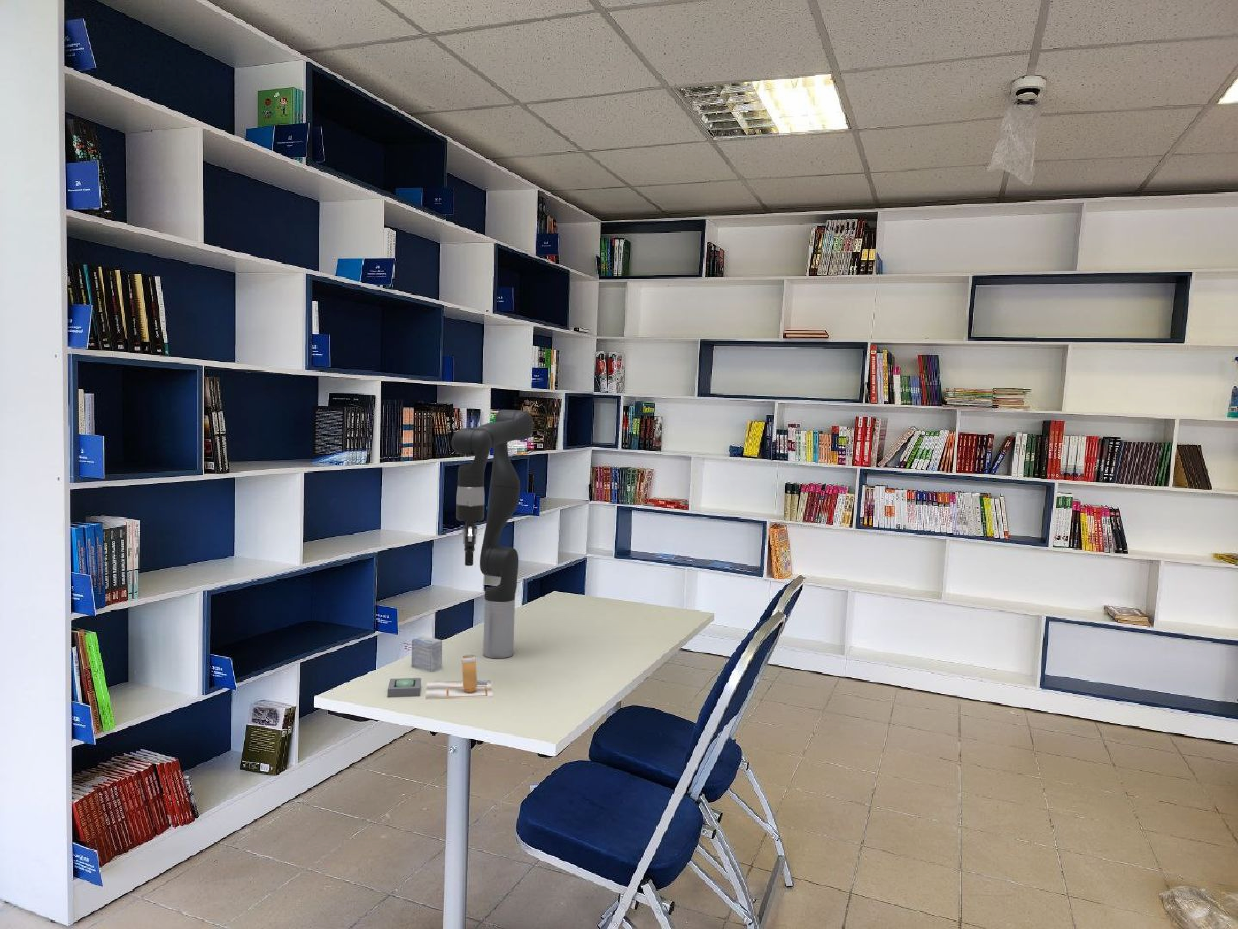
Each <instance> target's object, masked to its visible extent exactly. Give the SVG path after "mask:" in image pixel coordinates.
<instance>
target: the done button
mask: <svg viewBox="0 0 1238 929" xmlns="http://www.w3.org/2000/svg"><path fill="white" fill-rule="evenodd" d="M413 686H414V681H413V680H412V679H400V680H397V681H396V687H413Z"/></svg>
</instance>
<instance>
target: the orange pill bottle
mask: <svg viewBox="0 0 1238 929" xmlns="http://www.w3.org/2000/svg"><path fill="white" fill-rule="evenodd" d="M461 668H462V669H461V671H462V672H461V673H462V681H463V688H464V689H465V692H474V691H475V688H476V687H477V680H478V679H477V677H478V675H477V656H476V655H474V654H469V655H468V654H467V655H463V656H461Z"/></svg>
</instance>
